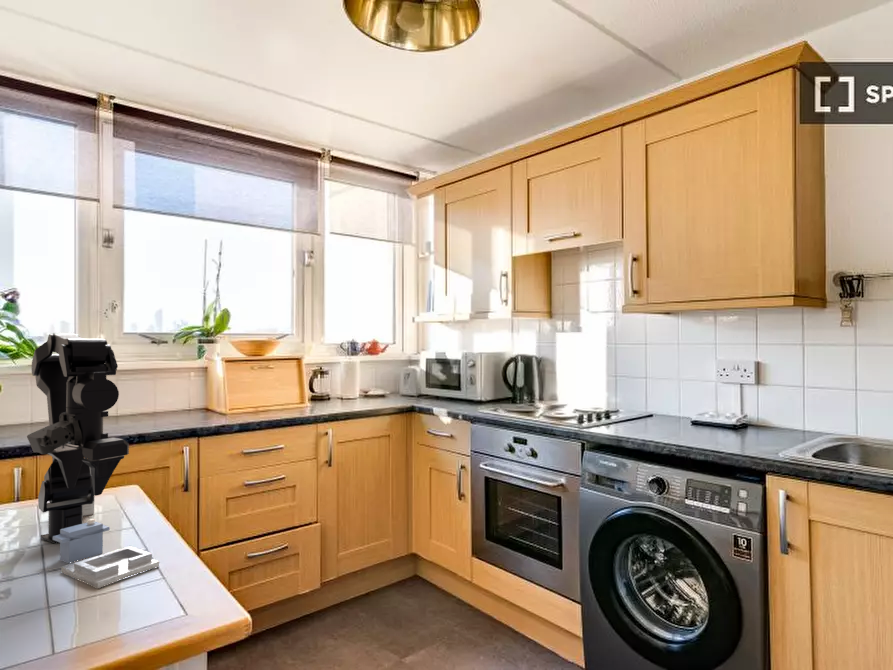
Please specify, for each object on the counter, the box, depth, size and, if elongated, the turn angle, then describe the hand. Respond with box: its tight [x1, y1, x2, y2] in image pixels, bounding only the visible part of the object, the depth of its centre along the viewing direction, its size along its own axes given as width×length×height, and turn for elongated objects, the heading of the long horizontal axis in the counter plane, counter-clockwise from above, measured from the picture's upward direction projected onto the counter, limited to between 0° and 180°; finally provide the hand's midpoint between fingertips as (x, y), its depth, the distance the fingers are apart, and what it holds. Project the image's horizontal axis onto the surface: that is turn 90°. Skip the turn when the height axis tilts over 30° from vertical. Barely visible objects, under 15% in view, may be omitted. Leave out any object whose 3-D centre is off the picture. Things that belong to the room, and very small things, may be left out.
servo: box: [53, 518, 110, 564], centre depth 101 cm, size 8×3×6 cm, turn 148°
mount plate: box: [60, 545, 160, 589], centre depth 95 cm, size 12×10×2 cm
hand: (84, 491), depth 101 cm, fingers open, 9 cm apart
